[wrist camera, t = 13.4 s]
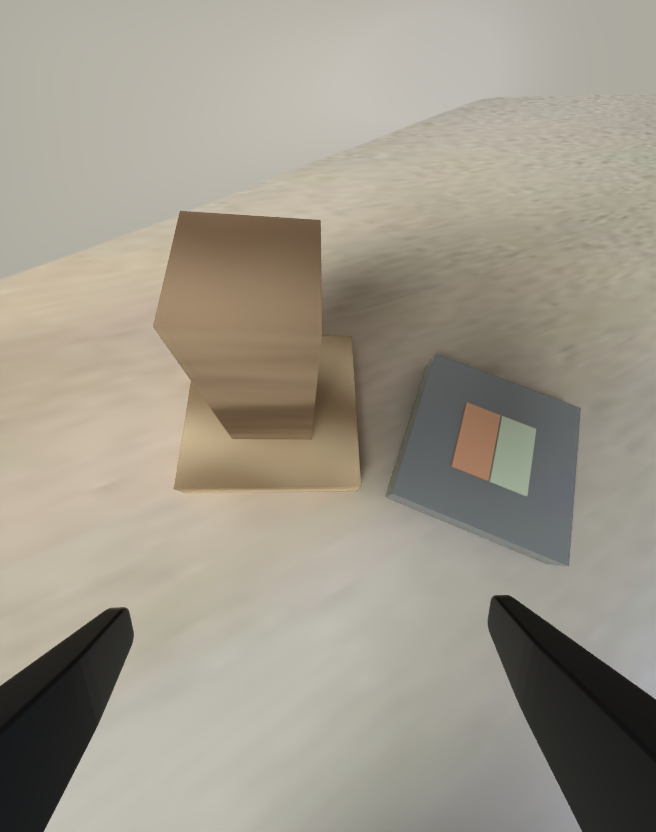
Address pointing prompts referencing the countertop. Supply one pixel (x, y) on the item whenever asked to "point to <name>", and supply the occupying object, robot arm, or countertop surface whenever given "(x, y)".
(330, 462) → the light wooden board
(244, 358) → the walnut block
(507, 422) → the plate
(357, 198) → the countertop surface
